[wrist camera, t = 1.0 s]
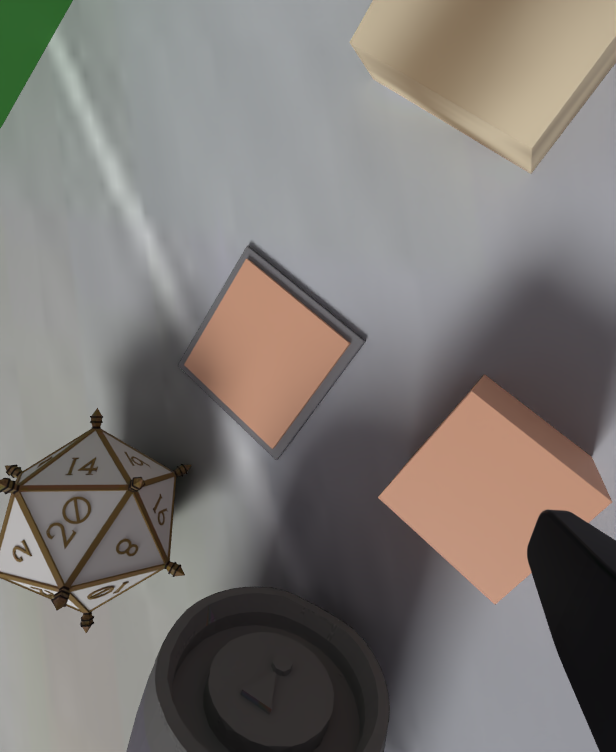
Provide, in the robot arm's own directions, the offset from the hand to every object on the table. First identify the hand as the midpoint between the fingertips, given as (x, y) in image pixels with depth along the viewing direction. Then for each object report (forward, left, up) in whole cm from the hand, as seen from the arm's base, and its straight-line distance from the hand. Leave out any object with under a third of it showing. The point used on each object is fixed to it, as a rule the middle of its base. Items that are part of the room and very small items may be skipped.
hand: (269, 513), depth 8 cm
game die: (+8, +13, -12) cm, 19 cm away
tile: (+7, +3, -12) cm, 14 cm away
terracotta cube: (-3, 0, -12) cm, 13 cm away
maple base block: (+6, -12, -12) cm, 18 cm away
